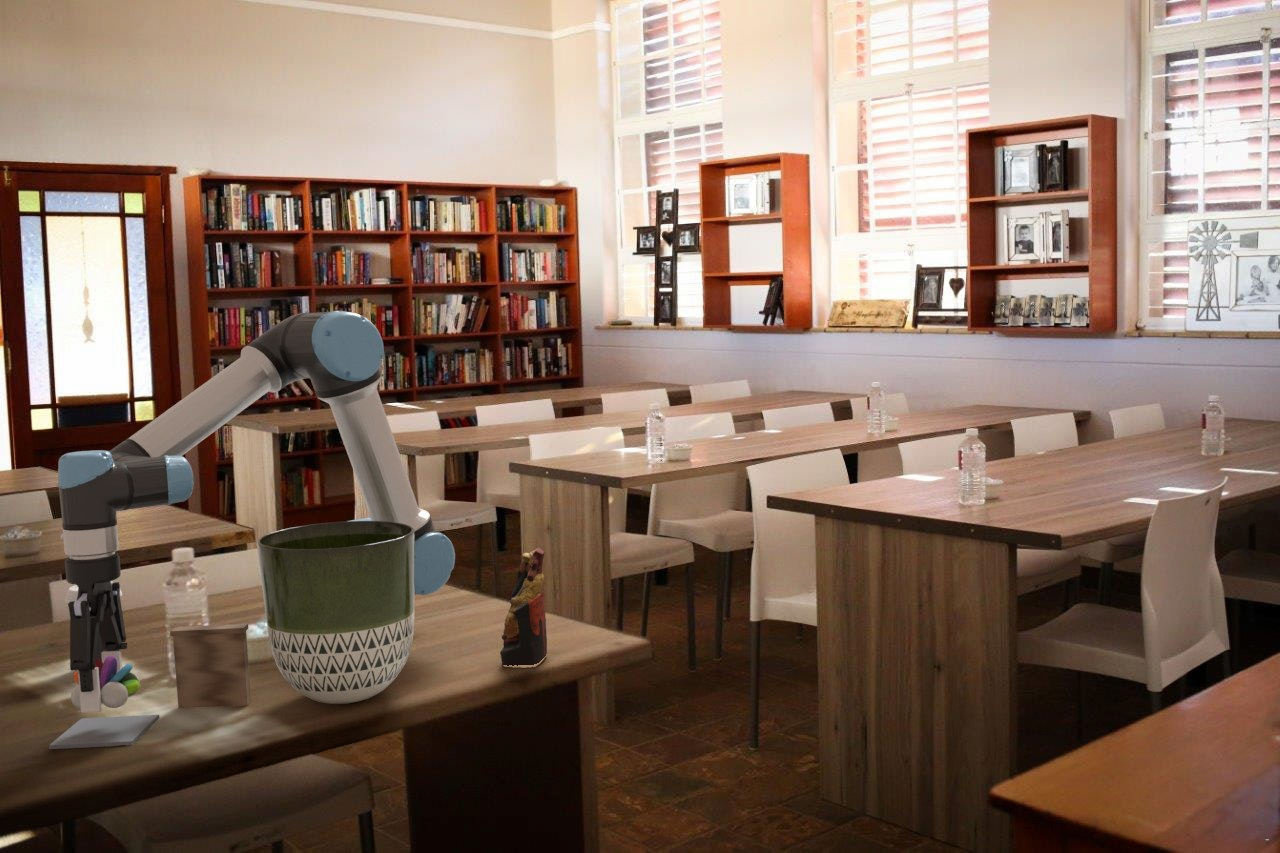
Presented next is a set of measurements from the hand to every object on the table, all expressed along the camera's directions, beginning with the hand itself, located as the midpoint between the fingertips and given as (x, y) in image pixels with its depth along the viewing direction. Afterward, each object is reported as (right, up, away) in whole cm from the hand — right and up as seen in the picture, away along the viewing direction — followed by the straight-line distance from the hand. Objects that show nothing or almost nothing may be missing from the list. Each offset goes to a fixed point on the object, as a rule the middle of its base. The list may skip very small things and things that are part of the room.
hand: (103, 701), depth 190 cm
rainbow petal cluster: (+1, 0, 0) cm, 1 cm away
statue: (+61, 0, +31) cm, 68 cm away
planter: (+34, -3, +14) cm, 37 cm away
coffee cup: (-16, -2, +37) cm, 40 cm away
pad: (0, -5, +1) cm, 5 cm away
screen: (+13, -3, +13) cm, 18 cm away
